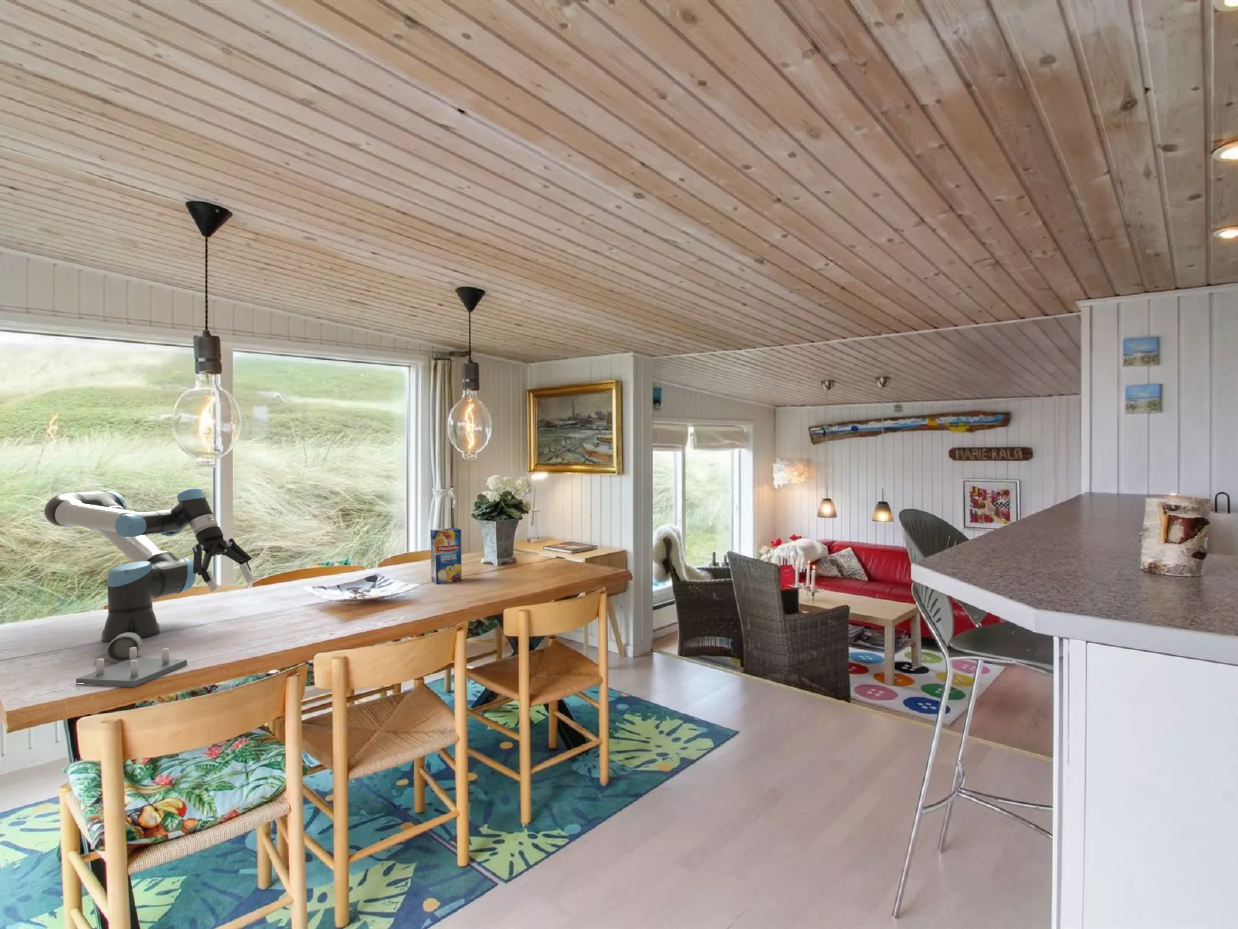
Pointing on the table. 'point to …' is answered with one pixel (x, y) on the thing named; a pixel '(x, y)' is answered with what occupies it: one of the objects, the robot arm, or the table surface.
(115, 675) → the pin plate
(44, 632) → the table surface
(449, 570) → the juice carton
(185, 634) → the table surface
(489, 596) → the table surface
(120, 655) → the ceramic mug
